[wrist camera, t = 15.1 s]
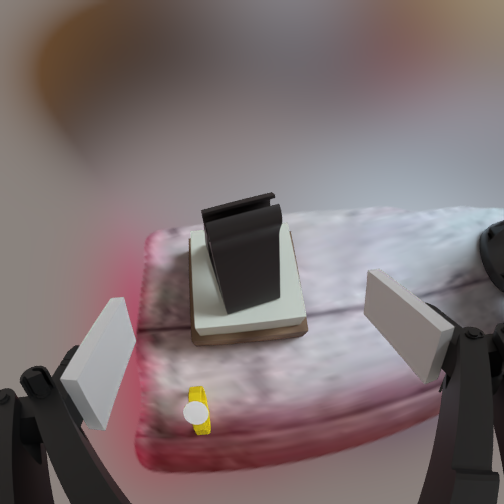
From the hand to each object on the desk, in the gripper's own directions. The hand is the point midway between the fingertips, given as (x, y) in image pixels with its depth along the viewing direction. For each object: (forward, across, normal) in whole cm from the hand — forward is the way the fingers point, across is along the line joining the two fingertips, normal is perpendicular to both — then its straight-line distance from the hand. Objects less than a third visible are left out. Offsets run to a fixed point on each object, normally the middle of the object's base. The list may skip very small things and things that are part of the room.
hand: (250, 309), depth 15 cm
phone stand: (+18, +1, -5) cm, 19 cm away
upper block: (+21, +1, -8) cm, 22 cm away
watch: (+12, -6, -21) cm, 25 cm away
